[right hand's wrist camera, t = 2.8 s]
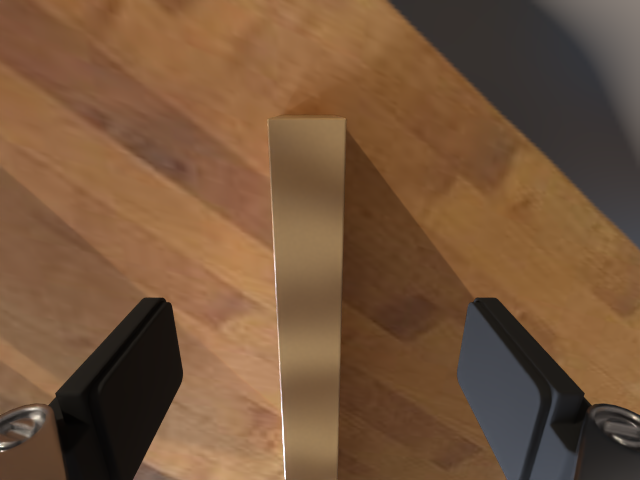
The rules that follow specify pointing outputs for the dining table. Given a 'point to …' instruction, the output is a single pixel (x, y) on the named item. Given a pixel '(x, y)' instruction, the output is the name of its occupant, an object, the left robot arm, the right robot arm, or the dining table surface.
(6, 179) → the dining table surface
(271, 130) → the post
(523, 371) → the right robot arm
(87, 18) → the dining table surface
